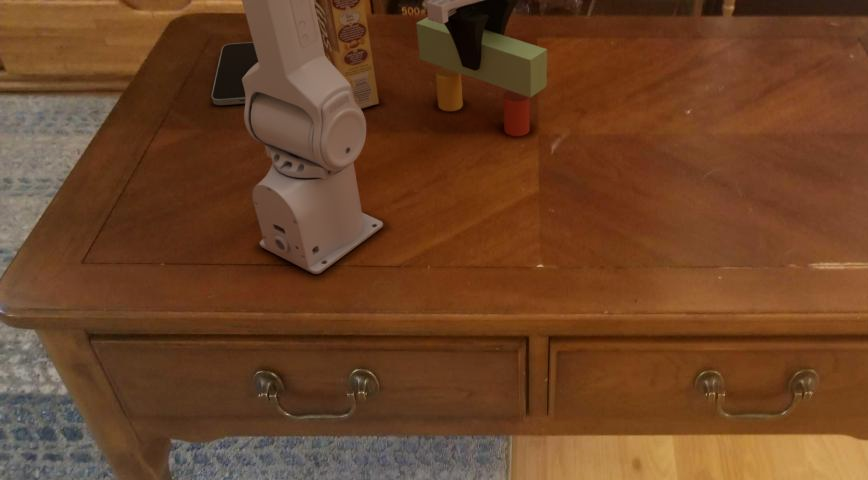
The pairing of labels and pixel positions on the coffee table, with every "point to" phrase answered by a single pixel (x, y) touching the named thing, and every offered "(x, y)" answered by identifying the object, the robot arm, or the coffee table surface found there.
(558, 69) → the coffee table surface
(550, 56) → the coffee table surface
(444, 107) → the cylinders
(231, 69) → the smartphone
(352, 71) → the candy box
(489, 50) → the bar
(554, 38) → the coffee table surface
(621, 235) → the coffee table surface
